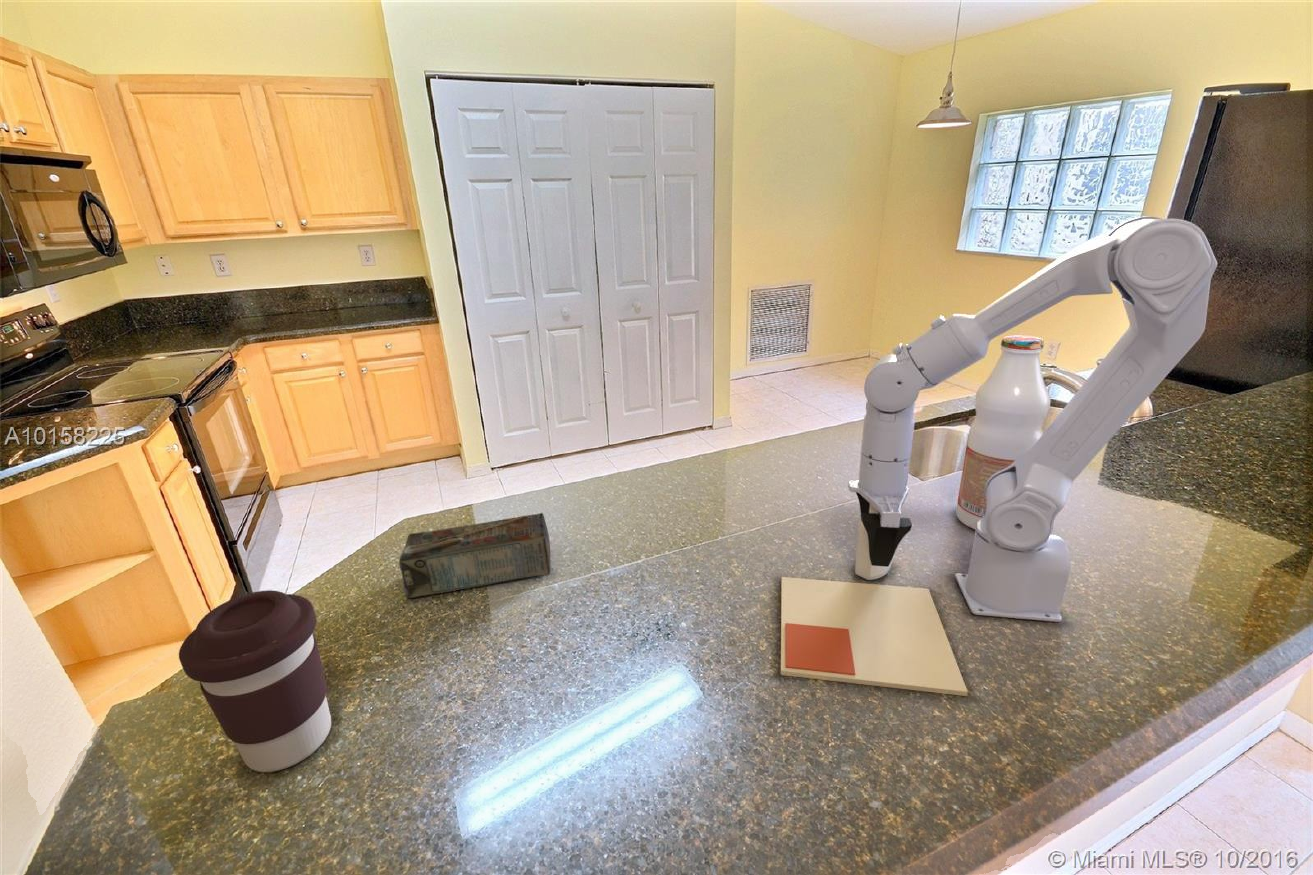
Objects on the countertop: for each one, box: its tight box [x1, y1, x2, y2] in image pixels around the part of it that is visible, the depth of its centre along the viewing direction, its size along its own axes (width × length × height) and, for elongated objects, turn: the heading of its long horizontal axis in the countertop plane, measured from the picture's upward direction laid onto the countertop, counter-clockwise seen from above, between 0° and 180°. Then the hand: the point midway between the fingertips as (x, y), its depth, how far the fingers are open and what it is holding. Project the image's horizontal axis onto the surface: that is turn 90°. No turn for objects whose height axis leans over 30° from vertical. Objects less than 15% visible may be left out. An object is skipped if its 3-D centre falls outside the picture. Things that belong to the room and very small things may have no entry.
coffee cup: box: [178, 589, 332, 773], centre depth 53 cm, size 10×10×15 cm
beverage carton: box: [398, 512, 551, 599], centre depth 80 cm, size 8×19×7 cm, turn 103°
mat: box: [780, 576, 969, 697], centre depth 66 cm, size 18×17×1 cm
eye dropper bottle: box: [854, 504, 893, 581], centre depth 75 cm, size 4×6×12 cm
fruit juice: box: [956, 334, 1052, 531], centre depth 83 cm, size 9×9×28 cm
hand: (875, 548), depth 76 cm, fingers open, 7 cm apart
